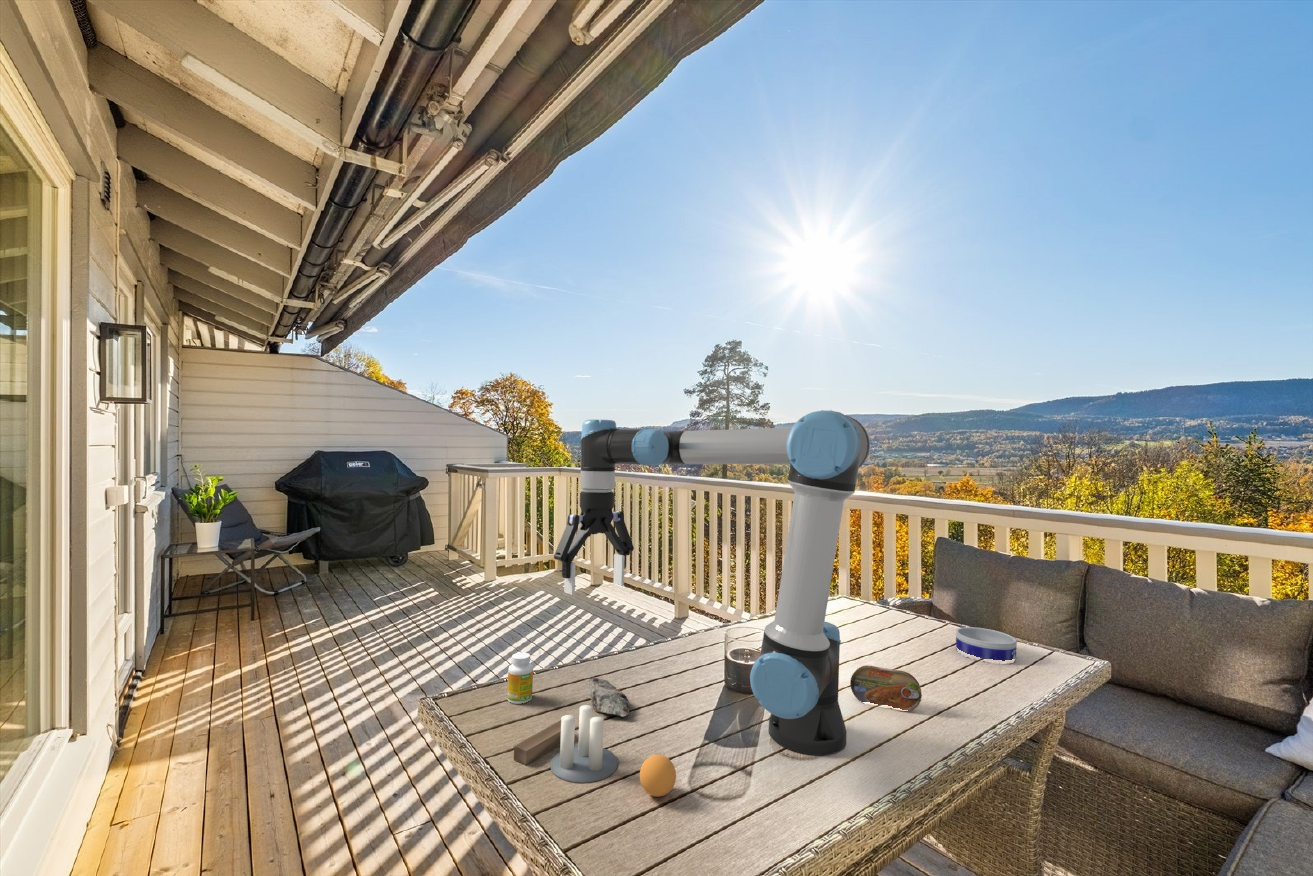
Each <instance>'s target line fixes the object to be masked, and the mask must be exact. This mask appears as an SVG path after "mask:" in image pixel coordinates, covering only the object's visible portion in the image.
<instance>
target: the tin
mask: <svg viewBox="0 0 1313 876" xmlns="http://www.w3.org/2000/svg"><path fill="white" fill-rule="evenodd" d="M849 684H850V685H849V686H850V689H851V692H852V694H853V695H854V697H855V698H856V699H857V700H858V701H859V702H860V701H861V703H862V702H870V703H874V704H878V705H888V706H892V707H893V708H900V709H902V710H908V712H911V711H913V710H915V709H916V708H918V707H919V705H920V704H921V702H922V696H923V695H922V693H923V692H922V689H921V686H920V683H919V681H918V679H916V677H915V676H914V675H912V674H911V673H909V672H907V671H904V670H898V669H892V668H887V667H886V668H885V667H881V666H874V665H868V664H867V665H862V666H860V667H857V669H856V670H855V671H854V672H853V673H852V675H851V677H850V681H849Z"/></svg>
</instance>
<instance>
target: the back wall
mask: <svg viewBox="0 0 1313 876" xmlns="http://www.w3.org/2000/svg"><path fill="white" fill-rule="evenodd" d="M560 743H561V719H560V720H558V721H557V722H554V723H552V725H550V726H549V725H548V727H545V728H544V729H542V730H540V731H539V732H537V733H535V734H533V735H532V736H529V737H528V738H526V739H524V740H522V741H520V742H519V743H517V744H516V745H514V746H513V761H515V762H517V763H520V764H521V765H524V766H527V765H529V764H531V763H532V762H534V761H536V760H538V759H539V758H541V757H542V756H544V755H545V754H547V753H549V752H550V751H552V750H553V749H555V748H557V747H558V746H560Z"/></svg>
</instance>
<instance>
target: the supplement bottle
mask: <svg viewBox="0 0 1313 876" xmlns="http://www.w3.org/2000/svg"><path fill="white" fill-rule="evenodd" d="M530 662H531V654H530V653H528V652H515V653H513V654H512V655H511V663H512V664H510V665H509V667H508V669H507V670H508V671H507V692H506V693H507V695H506V696H507V701H508V703H510V702H511V704H515V705H522V703H523V704H526V702H527V703H528V701H529V702H530V701H531V700H532V697H533V682H534V681H533V680H534V679H533V677H534V665H533V664H532V663H530Z"/></svg>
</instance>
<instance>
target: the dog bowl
mask: <svg viewBox="0 0 1313 876" xmlns="http://www.w3.org/2000/svg"><path fill="white" fill-rule="evenodd" d="M955 636H956V637H955V641H956V642H955V648H956V647H957V648H958V649H959V650H961V651H963V652H965V653H967V654H970V655H974V656H976V657H980V658H984V659H993V660H1002V661H1005V660H1012V659H1015V658H1016V659H1017V643H1018V642H1017V639H1016V638H1015V637H1014V636H1012V635H1011V634H1010V635H1009V634H1007V633H1004V632H1002V631H998V630H994V629H990V628H983V627H975V626H973V627H972V626H971V627H970V626H968V627H967V626H964V627H959V628H957V629H956V630H955Z"/></svg>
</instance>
